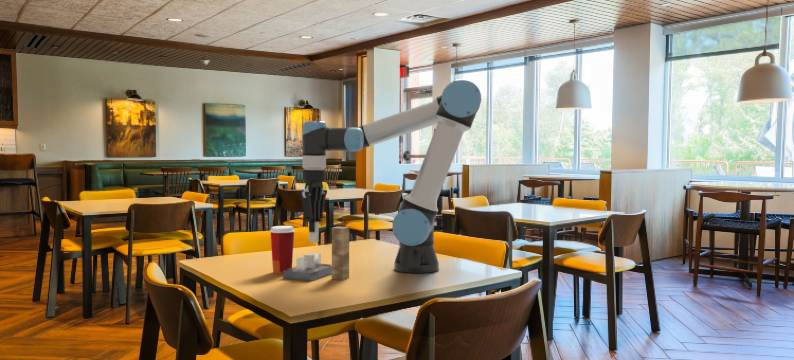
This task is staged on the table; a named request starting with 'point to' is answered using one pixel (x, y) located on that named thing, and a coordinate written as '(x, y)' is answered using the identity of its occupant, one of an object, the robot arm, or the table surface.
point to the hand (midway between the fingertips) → (313, 241)
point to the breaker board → (308, 269)
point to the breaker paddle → (310, 260)
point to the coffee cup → (282, 247)
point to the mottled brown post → (340, 253)
